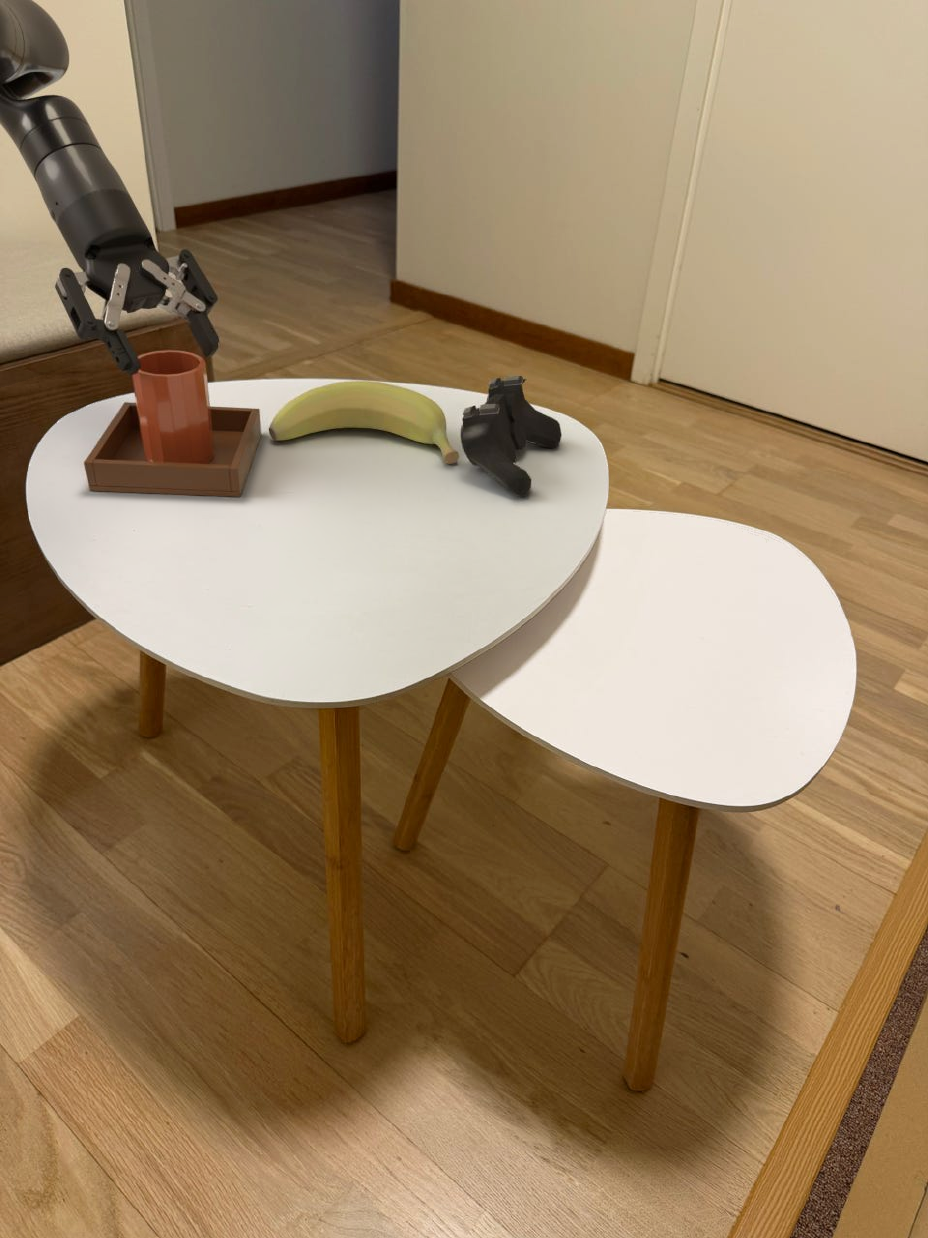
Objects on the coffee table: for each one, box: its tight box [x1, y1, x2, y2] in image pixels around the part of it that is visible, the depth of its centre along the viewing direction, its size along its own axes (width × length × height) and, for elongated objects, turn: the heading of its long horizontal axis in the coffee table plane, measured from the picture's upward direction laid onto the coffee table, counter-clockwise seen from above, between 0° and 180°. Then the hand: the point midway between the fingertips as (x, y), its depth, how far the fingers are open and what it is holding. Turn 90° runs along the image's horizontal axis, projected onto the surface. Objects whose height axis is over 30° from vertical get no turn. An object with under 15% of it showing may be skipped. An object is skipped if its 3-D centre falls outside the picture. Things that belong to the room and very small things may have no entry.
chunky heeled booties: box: [460, 375, 562, 498], centre depth 97 cm, size 16×7×10 cm, turn 161°
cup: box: [131, 349, 214, 464], centre depth 91 cm, size 7×7×10 cm
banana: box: [268, 380, 460, 465], centre depth 99 cm, size 14×6×20 cm
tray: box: [83, 401, 262, 498], centre depth 93 cm, size 15×15×3 cm
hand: (175, 361), depth 87 cm, fingers open, 8 cm apart
